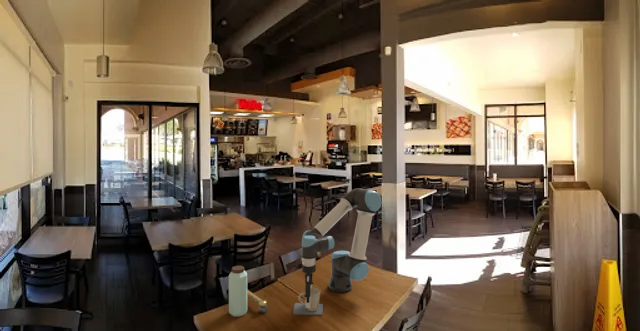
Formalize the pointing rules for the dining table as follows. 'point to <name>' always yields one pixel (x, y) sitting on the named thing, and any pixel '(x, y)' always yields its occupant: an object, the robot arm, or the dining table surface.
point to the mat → (306, 310)
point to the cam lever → (257, 299)
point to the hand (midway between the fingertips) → (308, 301)
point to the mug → (312, 298)
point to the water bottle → (238, 291)
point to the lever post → (263, 310)
